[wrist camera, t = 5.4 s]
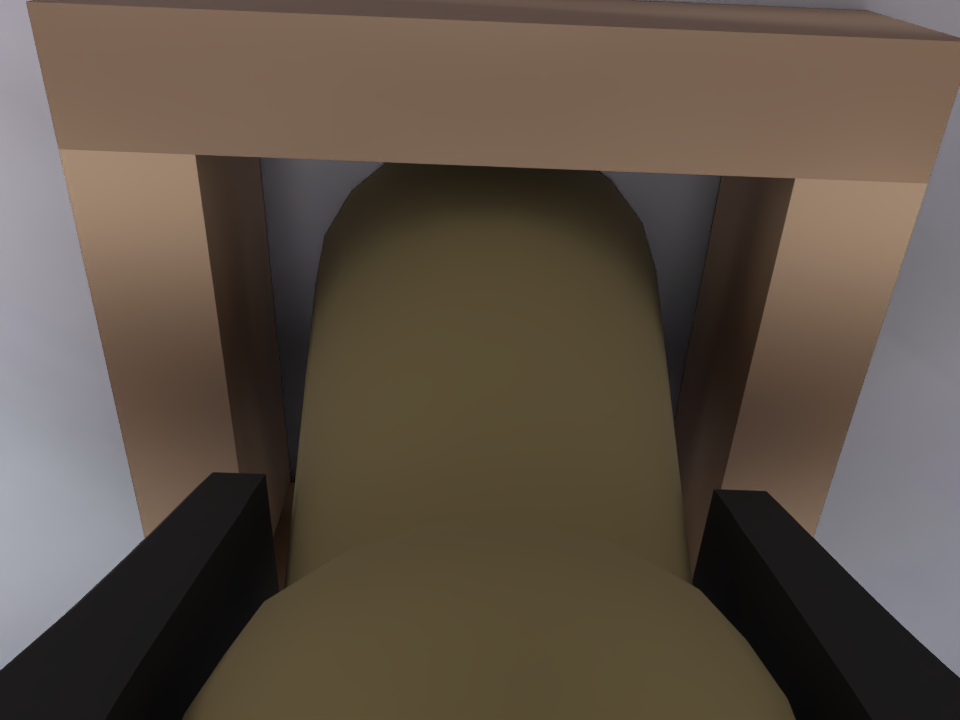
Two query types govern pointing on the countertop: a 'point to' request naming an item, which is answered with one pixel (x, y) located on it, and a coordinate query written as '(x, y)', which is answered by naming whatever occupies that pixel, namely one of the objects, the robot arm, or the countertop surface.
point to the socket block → (500, 143)
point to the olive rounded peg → (487, 475)
